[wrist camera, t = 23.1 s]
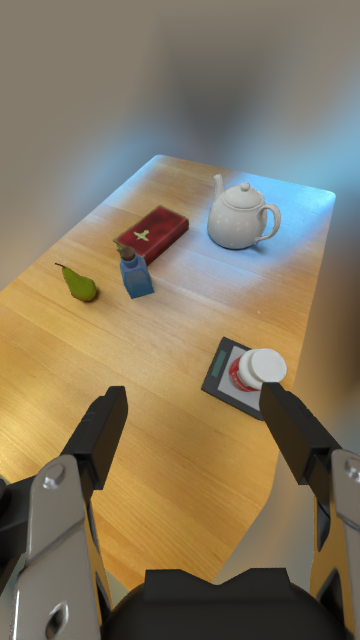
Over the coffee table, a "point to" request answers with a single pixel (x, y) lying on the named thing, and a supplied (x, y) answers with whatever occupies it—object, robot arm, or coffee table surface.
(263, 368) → the pill bottle
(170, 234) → the hardcover book
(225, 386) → the scale
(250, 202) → the teapot
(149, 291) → the perfume bottle
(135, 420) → the coffee table surface
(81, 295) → the fruit
